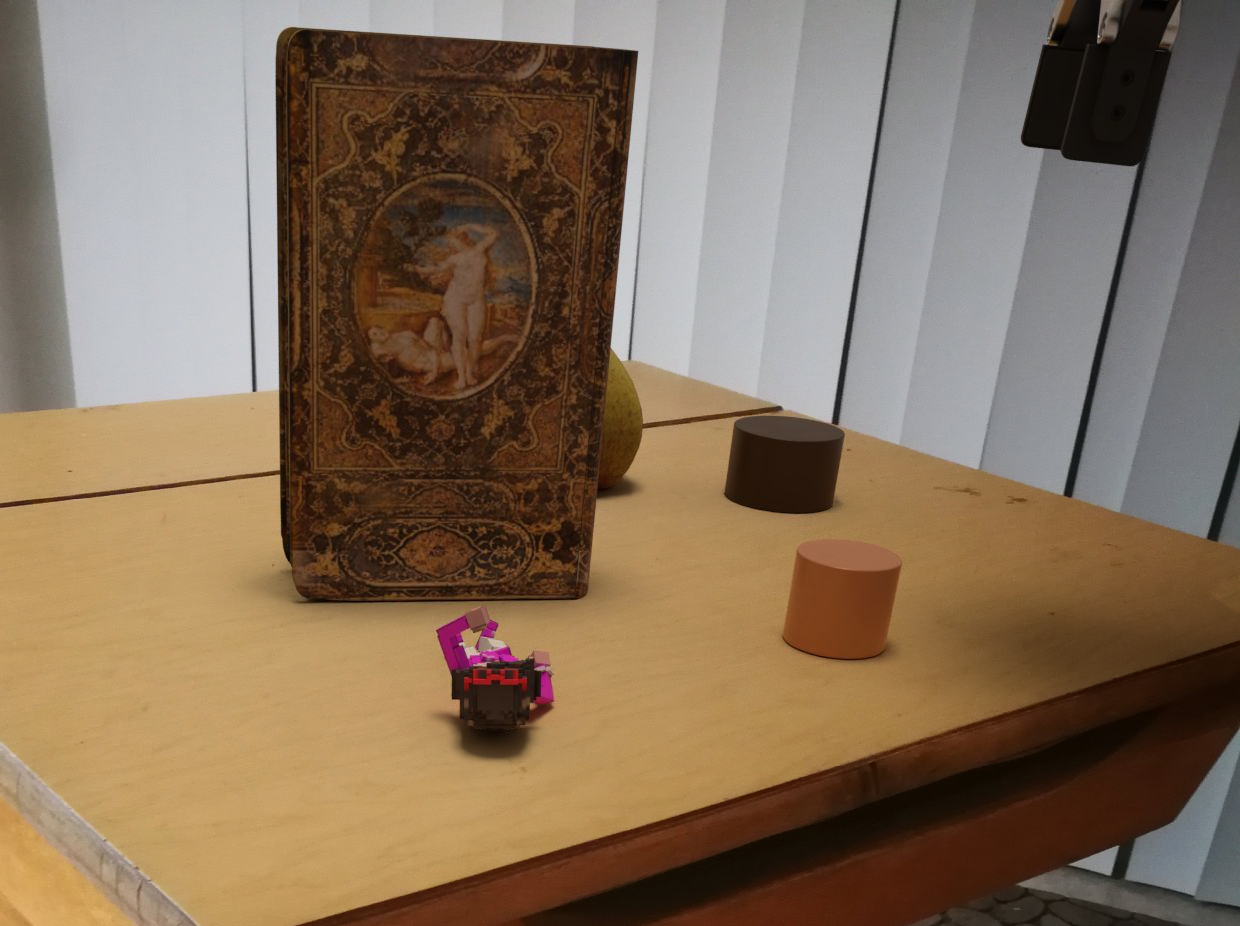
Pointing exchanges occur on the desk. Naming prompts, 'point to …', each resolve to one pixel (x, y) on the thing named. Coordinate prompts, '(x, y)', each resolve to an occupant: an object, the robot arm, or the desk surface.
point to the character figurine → (493, 675)
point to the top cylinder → (841, 598)
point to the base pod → (784, 463)
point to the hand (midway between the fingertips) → (1075, 155)
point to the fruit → (619, 425)
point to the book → (445, 309)
